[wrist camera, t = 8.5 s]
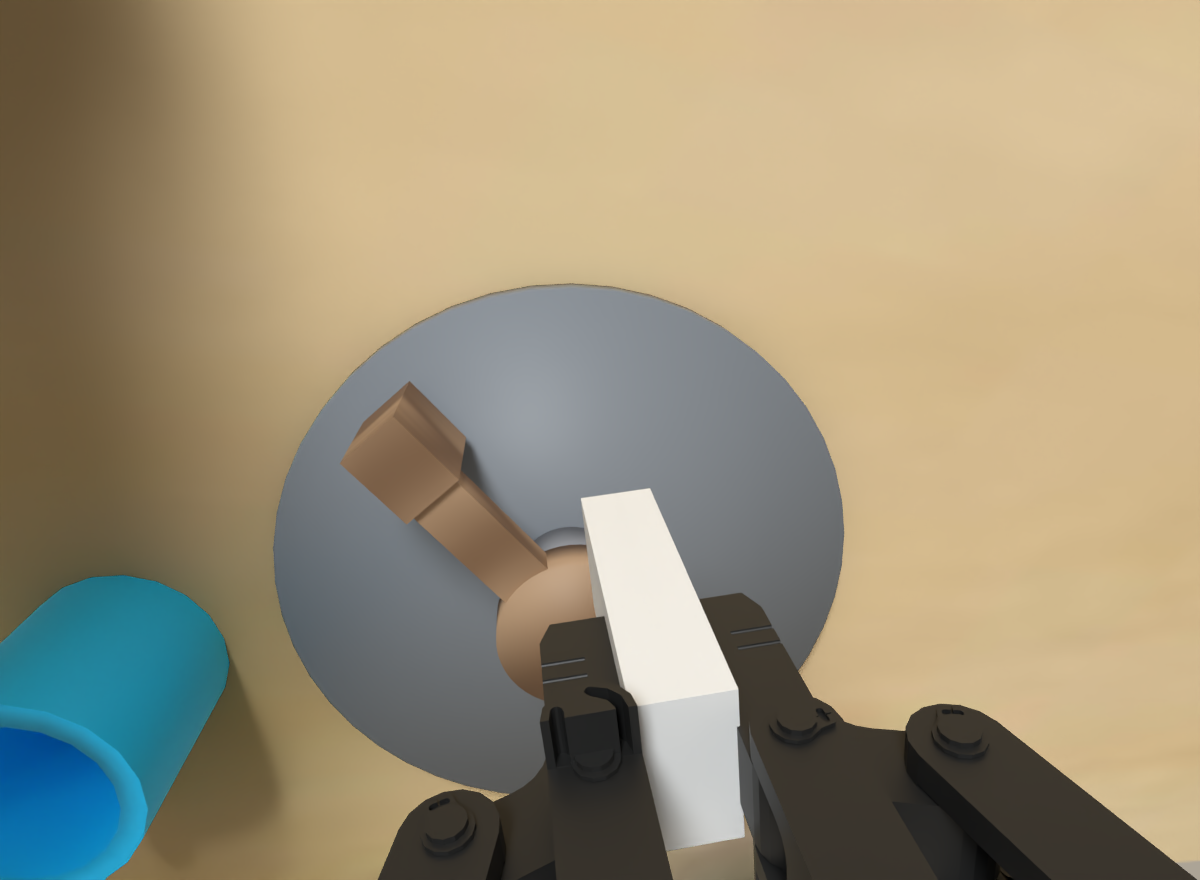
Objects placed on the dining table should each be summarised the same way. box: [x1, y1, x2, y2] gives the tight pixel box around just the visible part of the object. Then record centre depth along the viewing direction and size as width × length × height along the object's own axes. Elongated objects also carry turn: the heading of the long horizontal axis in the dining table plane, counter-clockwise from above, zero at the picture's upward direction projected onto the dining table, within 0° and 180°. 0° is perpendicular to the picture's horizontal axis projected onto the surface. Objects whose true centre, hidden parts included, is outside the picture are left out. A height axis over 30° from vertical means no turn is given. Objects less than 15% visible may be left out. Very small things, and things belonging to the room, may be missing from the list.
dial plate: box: [273, 284, 844, 794], centre depth 32 cm, size 24×24×4 cm
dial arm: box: [340, 381, 596, 701], centre depth 30 cm, size 22×6×4 cm, turn 40°
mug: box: [0, 575, 229, 880], centre depth 30 cm, size 12×8×8 cm
